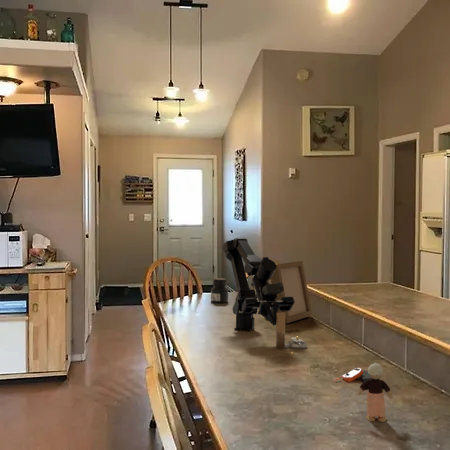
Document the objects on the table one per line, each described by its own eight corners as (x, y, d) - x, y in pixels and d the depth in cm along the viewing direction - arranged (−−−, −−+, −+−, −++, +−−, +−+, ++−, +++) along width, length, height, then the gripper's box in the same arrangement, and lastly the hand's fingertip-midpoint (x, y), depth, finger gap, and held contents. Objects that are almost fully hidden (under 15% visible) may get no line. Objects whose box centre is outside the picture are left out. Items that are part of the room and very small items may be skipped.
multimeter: (318, 389, 140) (318, 376, 140) (310, 375, 152) (310, 363, 152) (385, 390, 141) (385, 377, 141) (371, 376, 153) (372, 364, 153)
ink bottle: (207, 301, 274) (208, 278, 274) (223, 300, 278) (223, 277, 278) (215, 304, 265) (215, 280, 265) (231, 303, 269) (231, 279, 269)
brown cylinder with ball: (272, 345, 180) (273, 310, 180) (300, 343, 184) (300, 309, 183) (280, 350, 174) (281, 314, 174) (309, 348, 178) (309, 312, 177)
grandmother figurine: (387, 415, 121) (389, 361, 121) (393, 422, 117) (395, 366, 117) (354, 415, 121) (355, 361, 121) (359, 422, 117) (360, 366, 117)
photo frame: (312, 317, 235) (313, 261, 234) (287, 325, 218) (288, 265, 217) (283, 313, 244) (284, 259, 243) (257, 320, 227) (258, 262, 226)
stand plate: (263, 342, 188) (263, 336, 188) (300, 339, 193) (300, 333, 193) (288, 357, 169) (288, 350, 169) (329, 353, 174) (329, 346, 174)
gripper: (244, 275, 184) (256, 312, 173) (292, 274, 190) (307, 309, 180) (236, 294, 191) (247, 331, 181) (283, 292, 197) (296, 328, 187)
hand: (274, 324), depth 182 cm, fingers closed
